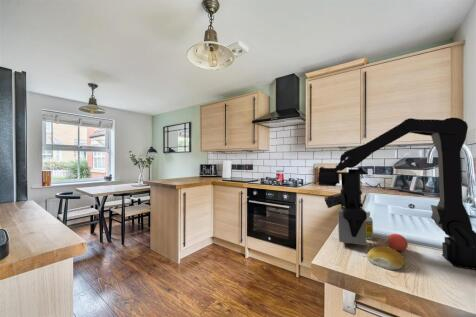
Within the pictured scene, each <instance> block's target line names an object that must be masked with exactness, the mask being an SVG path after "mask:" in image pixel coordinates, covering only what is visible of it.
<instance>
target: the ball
mask: <svg viewBox="0 0 476 317" xmlns="http://www.w3.org/2000/svg"><path fill="white" fill-rule="evenodd" d="M386 241H387V244H388V246H389V248H392V249H394V250H396V251H398V252H402V251H405V250H406V249H407V248H408V240H407V239H406V238H405V237H404V236H403V235H401V234H399V233H398V234H397V233H392V234H390V235H388V236H387V240H386Z"/></svg>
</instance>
